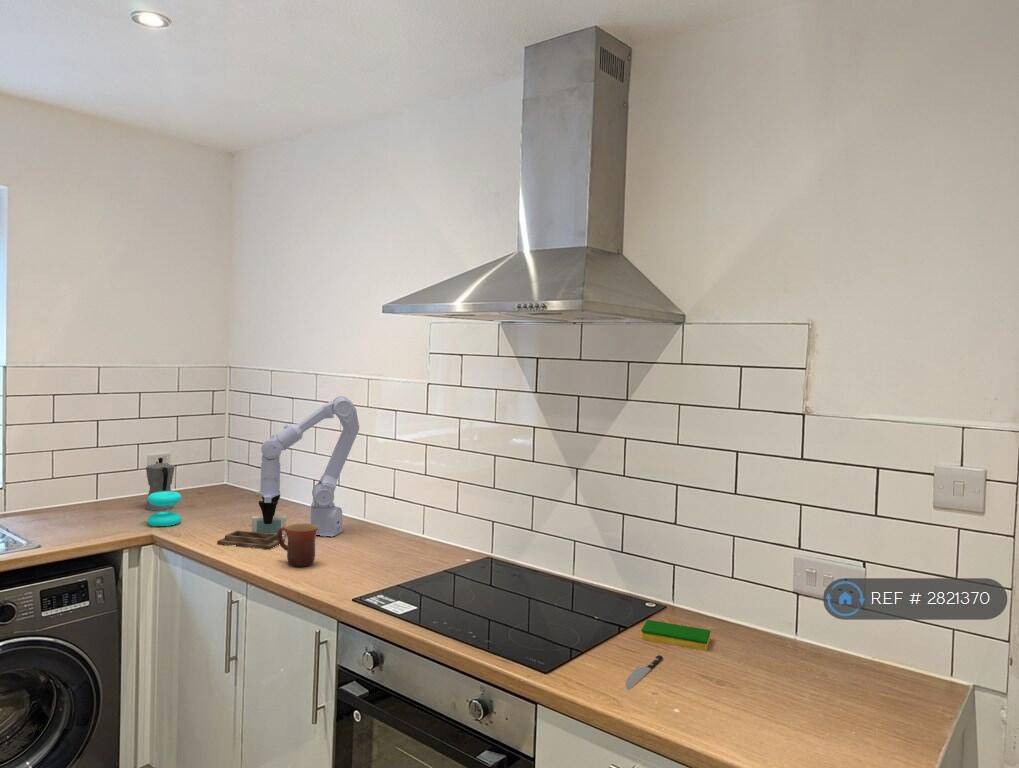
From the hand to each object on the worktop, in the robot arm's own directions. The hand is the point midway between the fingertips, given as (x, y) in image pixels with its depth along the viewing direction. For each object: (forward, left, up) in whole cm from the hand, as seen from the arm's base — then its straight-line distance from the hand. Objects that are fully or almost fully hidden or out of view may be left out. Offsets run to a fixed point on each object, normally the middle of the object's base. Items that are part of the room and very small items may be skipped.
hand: (269, 520), depth 233 cm
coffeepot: (+53, -19, -5) cm, 56 cm away
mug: (-22, +24, -5) cm, 33 cm away
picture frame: (0, 0, -5) cm, 5 cm away
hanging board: (0, +10, -5) cm, 11 cm away
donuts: (+38, -1, -5) cm, 38 cm away
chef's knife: (-117, +67, -5) cm, 135 cm away
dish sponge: (-124, +47, -5) cm, 133 cm away
